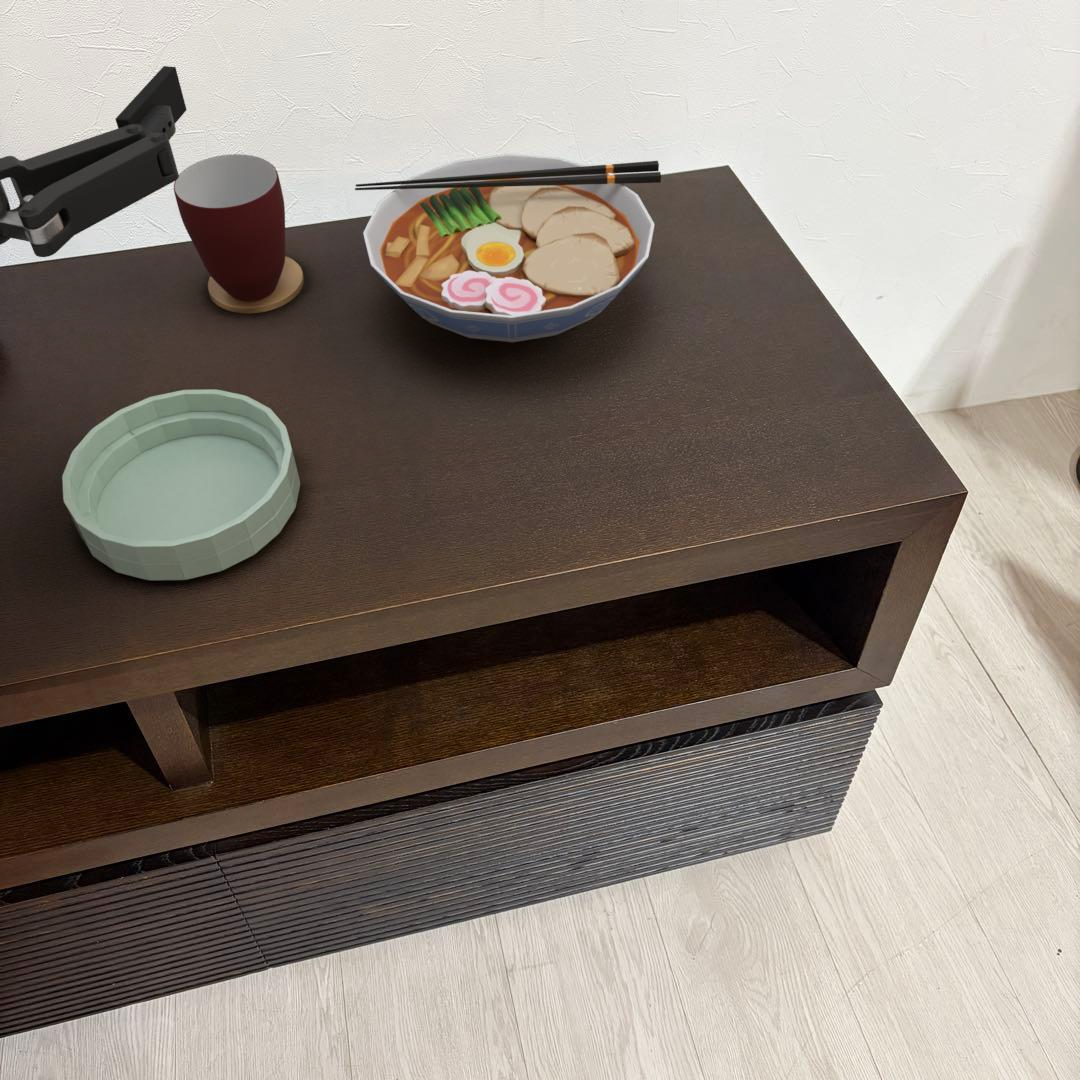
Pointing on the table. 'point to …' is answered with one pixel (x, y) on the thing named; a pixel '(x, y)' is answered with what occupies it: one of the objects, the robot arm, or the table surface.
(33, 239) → the robot arm
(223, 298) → the coaster
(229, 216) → the mug
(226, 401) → the serving bowl
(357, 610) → the table surface
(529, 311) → the ramen bowl
